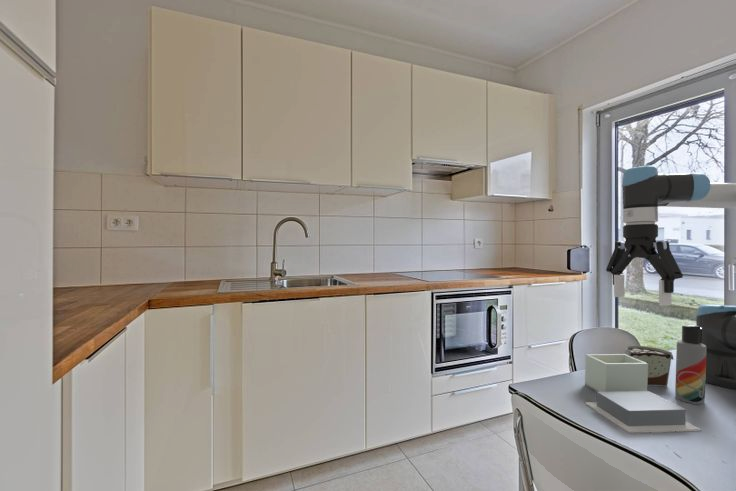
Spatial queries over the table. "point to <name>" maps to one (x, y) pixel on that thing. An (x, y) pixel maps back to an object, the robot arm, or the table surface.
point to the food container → (653, 363)
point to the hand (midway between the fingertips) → (640, 300)
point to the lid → (641, 408)
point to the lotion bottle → (691, 366)
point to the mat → (643, 428)
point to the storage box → (615, 373)
